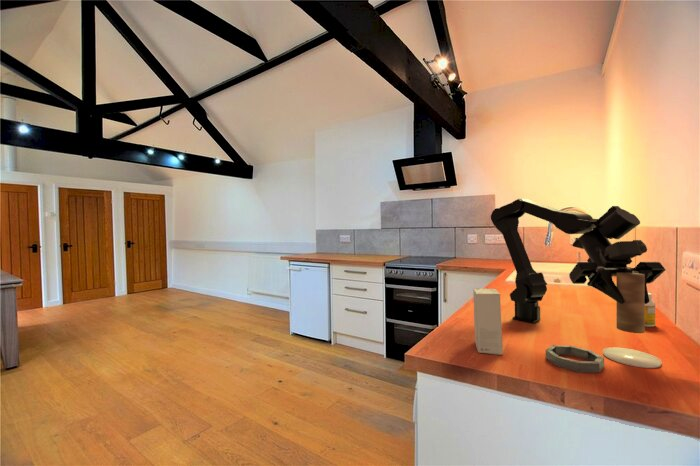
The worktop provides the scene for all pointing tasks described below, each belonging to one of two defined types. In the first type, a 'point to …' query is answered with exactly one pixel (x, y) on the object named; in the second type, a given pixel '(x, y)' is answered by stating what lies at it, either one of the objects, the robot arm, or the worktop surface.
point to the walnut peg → (631, 302)
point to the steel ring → (589, 366)
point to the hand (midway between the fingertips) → (635, 302)
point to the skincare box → (487, 321)
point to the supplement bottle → (650, 312)
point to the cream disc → (632, 357)
